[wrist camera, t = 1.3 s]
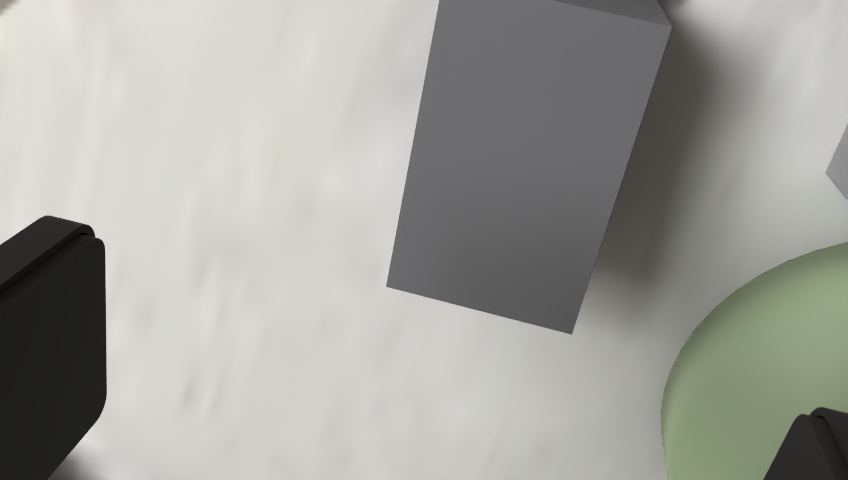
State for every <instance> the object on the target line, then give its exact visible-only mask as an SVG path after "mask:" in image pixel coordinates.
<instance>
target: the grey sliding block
mask: <svg viewBox="0 0 848 480" xmlns="http://www.w3.org/2000/svg"><path fill="white" fill-rule="evenodd" d="M671 29H672V26H671V24H670V22H669V20H668V18H667V17H666V15H665V13H664V11H663V9H662V7H661V6H660V4H659V2H658V0H439V5H438V11H437V16H436V22H435V27H434V32H433V38H432V43H431V49H430V54H429V59H428V65H427V70H426V75H425V81H424V86H423V92H422V97H421V102H420V108H419V113H418V118H417V124H416V129H415V135H414V140H413V145H412V151H411V156H410V162H409V167H408V172H407V178H406V183H405V188H404V194H403V199H402V205H401V210H400V215H399V221H398V226H397V231H396V237H395V242H394V248H393V253H392V258H391V264H390V269H389V275H388V280H387V285H386V287H389V288H393V289H397V290H401V291H405V292H409V293H413V294H417V295H421V296H424V297H428V298H432V299H436V300H440V301H444V302H448V303H452V304H456V305H459V306H463V307H467V308H471V309H475V310H479V311H483V312H487V313H491V314H494V315H498V316H502V317H506V318H510V319H514V320H518V321H522V322H525V323H529V324H533V325H537V326H541V327H545V328H549V329H553V330H557V331H560V332H564V333H568V334H572V332H573V329H574V326H575V323H576V320H577V317H578V314H579V311H580V307H581V304H582V301H583V298H584V295H585V292H586V289H587V286H588V283H589V280H590V277H591V274H592V271H593V268H594V265H595V262H596V259H597V255H598V252H599V249H600V246H601V243H602V240H603V237H604V234H605V231H606V228H607V225H608V222H609V219H610V216H611V213H612V210H613V207H614V203H615V200H616V197H617V194H618V191H619V188H620V185H621V182H622V179H623V176H624V173H625V170H626V167H627V164H628V161H629V158H630V155H631V151H632V148H633V145H634V142H635V139H636V136H637V133H638V130H639V127H640V124H641V121H642V118H643V115H644V112H645V109H646V106H647V103H648V99H649V96H650V93H651V90H652V87H653V84H654V81H655V78H656V75H657V72H658V69H659V66H660V63H661V60H662V57H663V54H664V51H665V47H666V44H667V41H668V38H669V35H670V32H671Z"/></svg>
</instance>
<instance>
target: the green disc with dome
mask: <svg viewBox="0 0 848 480" xmlns="http://www.w3.org/2000/svg"><path fill="white" fill-rule="evenodd" d="M826 174H827V175H828V176H829V178H830V179H831V180H832V181H833V183H834V184H835V185H836V186H837V188H838V189H839V190H840V191H841V193H842V194H843V195H844V197H845V198H846V199H848V125H847V128H846V130H845V132H844V134H843V136H842V139H841V141H840V143H839V145H838V147H837V149H836V152H835V154H834V156H833V158H832V160H831V163H830V165H829V167H828V169H827V171H826ZM819 407H825V408H829V409H833V410H837V411H841V412H845V413H848V242H847V243H843V244H839V245H835V246H831V247H828V248H824V249H820V250H816V251H814V252H811V253H808V254H806V255H803V256H800V257H798V258H795V259H792V260H790V261H787V262H785V263H783V264H781V265H779V266H777V267H775V268H773V269H771V270H769V271H767V272H765V273H763V274H761V275H759V276H758V277H756V278H755V279H753V280H752V281H750V282H749V283H747V284H746V285H744V286H743V287H741V288H739V289H738V290H736V291H735V292H734V293H733V294H731V295H730V296H729V297H728V298H727V299H725V300H724V301H723V302H722V303H721V304H719V305H718V306H717V307H716V308H715V309H713V311H712V312H711V313H710V314H709V315H708V316H707V317H706V318H705V319H704V320H703V321H702V322H701V324H700V325H699V326H698V327H697V328H696V329H695V330H694V332H693V333H692V335H691V336H690V338H689V339H688V340H687V342H686V343H685V345H684V346H683V348H682V349H681V351H680V353H679V355H678V357H677V359H676V361H675V363H674V365H673V367H672V369H671V372H670V375H669V378H668V381H667V384H666V387H665V390H664V397H663V403H662V410H661V424H662V439H663V446H664V453H665V461H666V468H667V475H668V480H763V479H764V477H765V475H766V473H767V471H768V469H769V467H770V466H771V464H772V462H773V460H774V458H775V456H776V454H777V452H778V450H779V448H780V446H781V444H782V442H783V441H784V439H785V437H786V435H787V433H788V431H789V429H790V427H791V425H792V423H793V422H794V420H795V419H796V417H798V416H799V415H800V414H806V415H810V414H811V412H812V411H814V410H815V409H816V408H819Z"/></svg>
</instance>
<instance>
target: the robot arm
mask: <svg viewBox="0 0 848 480" xmlns="http://www.w3.org/2000/svg"><path fill="white" fill-rule="evenodd" d="M106 394H107V380H106V289H105V246H104V243H103V241H102V240H100V239H98V238H95V233H94V231H93V229H92V228H91V227H90V226H89V225H86V224H82V223H78V222H74V221H70V220H66V219H62V218H57V217H53V216H44V217H42V218H40V219H38V220H37V221H35V222H34V223H32V224H31V225H29V226H28V227H26V228H25V229H23V230H22V231H20V232H19V233H17V234H16V235H14V236H13V237H11V238H10V239H8V240H7V241H5V242H4V243H2V244H1V245H0V480H47V479H48V478H49V477H50V476H51V474H52V473H53V472H54V471H55V470H56V468H57V467H58V466H59V465H60V464H61V463H62V461H63V460H64V459H65V458H66V457H67V455H68V454H69V453H70V452H71V451H72V450H73V448H74V447H75V446H76V445H77V444H78V442H79V441H80V440H81V439H82V438H83V437H84V435H85V434H86V433H87V432H88V431H89V429H90V428H91V427H92V426H93V425H94V424H95V422H96V421H97V420H98V418H99V417H100V415H101V413H102V411H103V408H104V405H105V401H106ZM763 480H848V413H845V412H841V411H837V410H833V409H829V408H825V407H819V408H816V409H815V410H814V411H812V412H811V414H810V415H806V414H800V415H799V416H798V417H796V419H795V420H794V422H793V423H792V425H791V427H790V429H789V431H788V433H787V435H786V437H785V439H784V441H783V442H782V444H781V446H780V448H779V450H778V452H777V454H776V456H775V458H774V460H773V462H772V464H771V466H770V467H769V469H768V471H767V473H766V475H765V477H764V479H763Z"/></svg>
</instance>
